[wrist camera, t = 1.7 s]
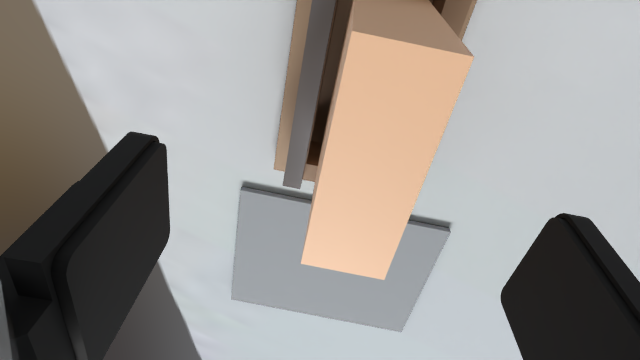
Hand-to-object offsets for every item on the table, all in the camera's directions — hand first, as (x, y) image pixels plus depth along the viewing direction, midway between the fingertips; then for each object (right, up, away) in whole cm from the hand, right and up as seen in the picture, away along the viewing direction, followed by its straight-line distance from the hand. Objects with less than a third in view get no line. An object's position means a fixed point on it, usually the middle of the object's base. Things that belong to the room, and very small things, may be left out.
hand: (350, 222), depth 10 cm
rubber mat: (0, -5, +19) cm, 20 cm away
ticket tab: (+2, +7, +10) cm, 12 cm away
